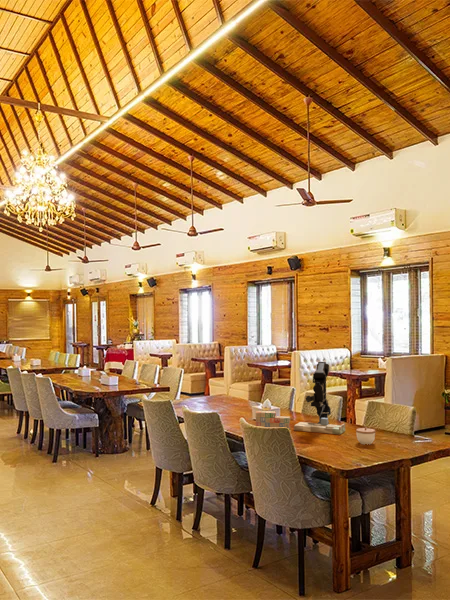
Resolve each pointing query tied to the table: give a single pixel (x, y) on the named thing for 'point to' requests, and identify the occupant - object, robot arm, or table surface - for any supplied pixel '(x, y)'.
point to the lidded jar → (365, 435)
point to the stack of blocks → (271, 419)
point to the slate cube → (324, 421)
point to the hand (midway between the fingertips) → (319, 416)
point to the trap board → (320, 428)
